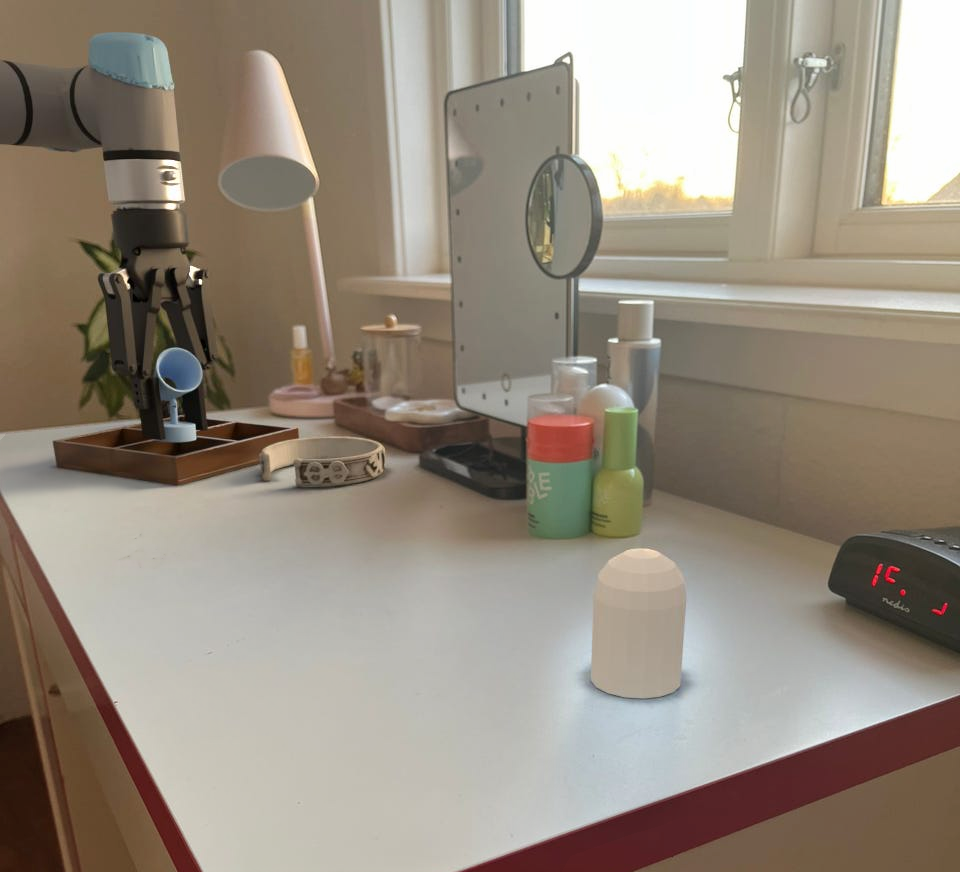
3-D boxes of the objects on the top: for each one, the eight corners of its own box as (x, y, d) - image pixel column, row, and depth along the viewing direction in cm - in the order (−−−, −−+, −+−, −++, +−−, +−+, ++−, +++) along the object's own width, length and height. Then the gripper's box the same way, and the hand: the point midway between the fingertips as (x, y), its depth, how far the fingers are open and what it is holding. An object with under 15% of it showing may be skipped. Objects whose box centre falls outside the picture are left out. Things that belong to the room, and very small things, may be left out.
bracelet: (395, 483, 109) (394, 455, 108) (264, 491, 106) (262, 462, 105) (375, 457, 121) (374, 432, 120) (258, 464, 118) (255, 438, 117)
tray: (56, 466, 119) (52, 440, 117) (183, 438, 134) (180, 415, 133) (178, 485, 109) (175, 457, 108) (300, 452, 125) (298, 427, 124)
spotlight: (209, 442, 113) (187, 434, 118) (204, 348, 110) (182, 344, 115) (165, 445, 110) (145, 436, 116) (158, 349, 107) (137, 344, 112)
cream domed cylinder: (625, 655, 64) (631, 532, 61) (698, 678, 61) (708, 549, 58) (572, 680, 61) (575, 551, 58) (646, 706, 57) (653, 570, 54)
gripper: (99, 205, 96) (134, 451, 105) (238, 208, 111) (258, 423, 120) (47, 207, 100) (84, 445, 108) (189, 209, 115) (211, 418, 123)
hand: (175, 433), depth 114 cm, fingers closed on spotlight, 6 cm apart
